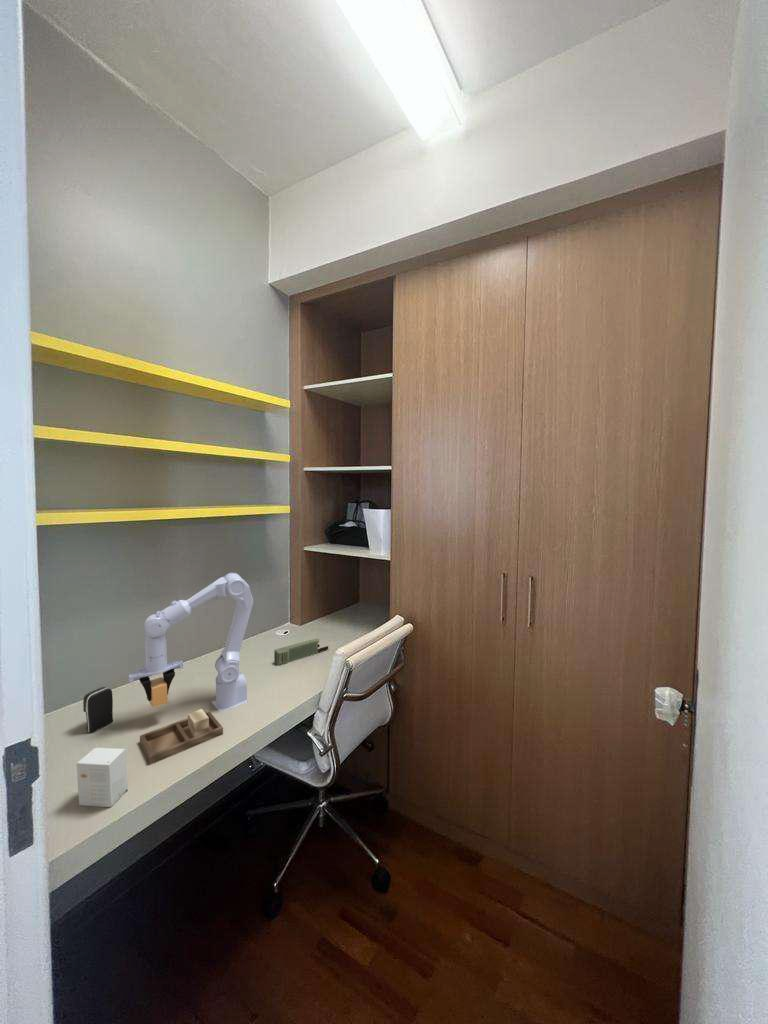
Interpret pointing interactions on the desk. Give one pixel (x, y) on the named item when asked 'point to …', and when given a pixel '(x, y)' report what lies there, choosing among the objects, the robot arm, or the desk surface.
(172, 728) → the slot rack
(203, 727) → the maple block
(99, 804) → the small box
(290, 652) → the handheld radio
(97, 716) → the battery charger
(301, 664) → the desk surface
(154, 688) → the plug block
